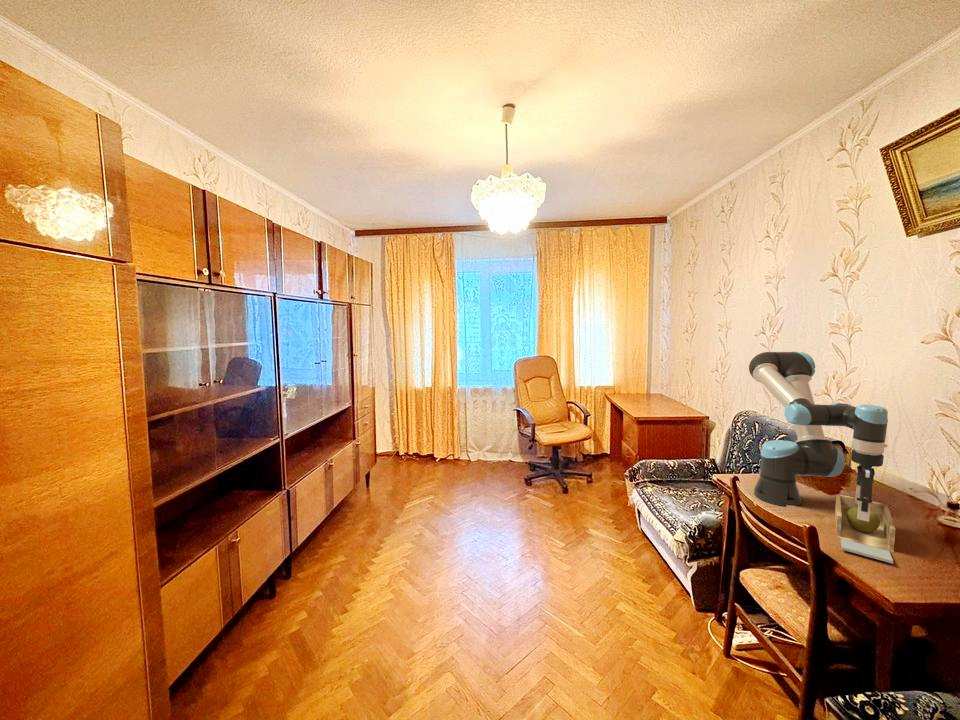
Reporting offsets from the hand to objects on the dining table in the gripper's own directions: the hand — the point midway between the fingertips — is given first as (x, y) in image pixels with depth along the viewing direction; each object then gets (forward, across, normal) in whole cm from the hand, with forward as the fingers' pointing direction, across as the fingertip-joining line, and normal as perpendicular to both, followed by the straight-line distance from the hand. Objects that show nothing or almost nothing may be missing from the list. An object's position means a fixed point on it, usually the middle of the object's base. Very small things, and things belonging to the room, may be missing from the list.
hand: (861, 511), depth 129 cm
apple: (+6, -1, 0) cm, 6 cm away
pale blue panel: (+6, -12, 0) cm, 14 cm away
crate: (+7, -1, 0) cm, 7 cm away
